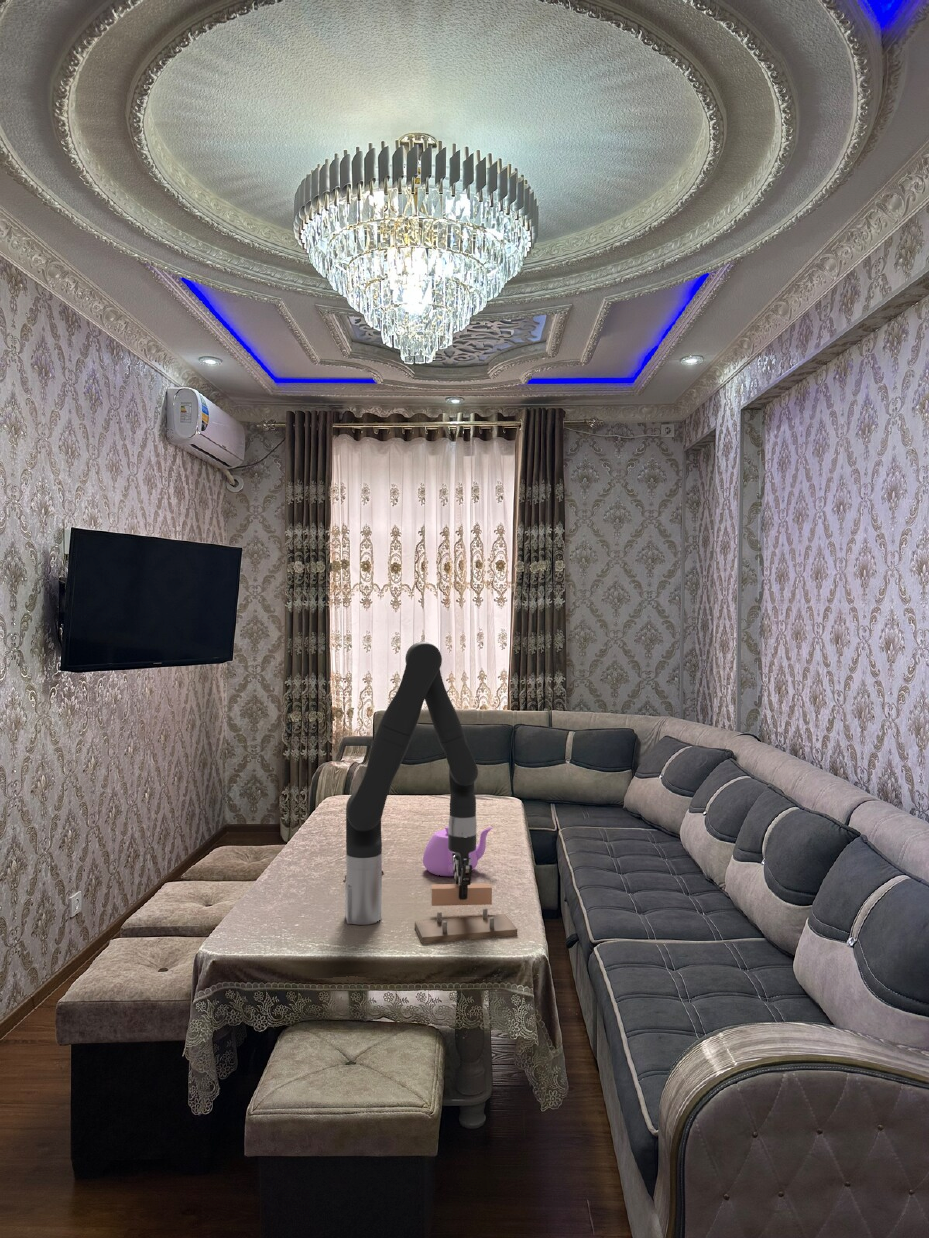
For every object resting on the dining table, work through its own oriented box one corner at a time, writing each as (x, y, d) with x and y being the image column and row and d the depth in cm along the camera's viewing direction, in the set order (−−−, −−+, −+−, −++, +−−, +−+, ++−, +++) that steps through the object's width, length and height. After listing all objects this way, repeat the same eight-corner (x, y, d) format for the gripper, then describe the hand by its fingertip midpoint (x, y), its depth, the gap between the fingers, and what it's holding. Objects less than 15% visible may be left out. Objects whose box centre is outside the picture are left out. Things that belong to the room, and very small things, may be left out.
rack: (422, 943, 205) (422, 926, 205) (414, 926, 215) (414, 911, 215) (517, 935, 210) (517, 919, 210) (505, 919, 221) (505, 904, 221)
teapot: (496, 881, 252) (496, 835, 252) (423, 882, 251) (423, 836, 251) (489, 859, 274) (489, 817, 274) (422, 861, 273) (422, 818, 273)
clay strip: (431, 905, 222) (431, 888, 222) (430, 901, 226) (430, 884, 226) (491, 904, 224) (492, 887, 224) (489, 899, 228) (489, 883, 228)
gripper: (443, 825, 231) (442, 888, 231) (454, 839, 217) (453, 906, 217) (469, 824, 233) (468, 887, 233) (482, 838, 219) (481, 904, 219)
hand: (461, 895), depth 225 cm, fingers closed on clay strip, 3 cm apart
